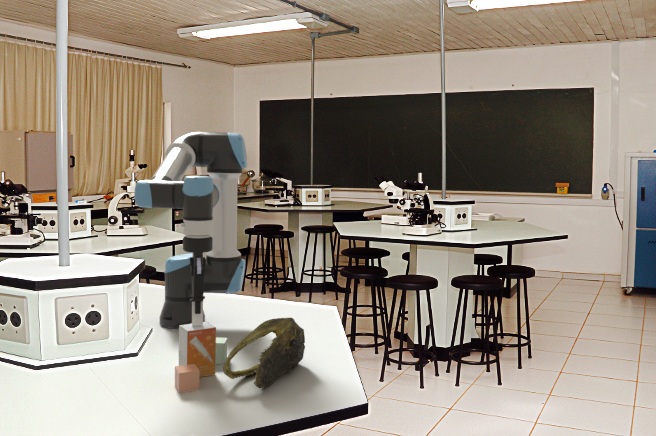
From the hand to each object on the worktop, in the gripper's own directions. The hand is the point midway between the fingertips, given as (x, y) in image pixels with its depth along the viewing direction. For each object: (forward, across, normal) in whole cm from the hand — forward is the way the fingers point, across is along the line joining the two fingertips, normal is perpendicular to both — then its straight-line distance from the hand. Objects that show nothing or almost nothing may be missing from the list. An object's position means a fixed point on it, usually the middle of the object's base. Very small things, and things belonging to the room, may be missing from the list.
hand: (197, 324), depth 159 cm
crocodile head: (+14, +6, +18) cm, 24 cm away
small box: (+14, 0, 0) cm, 14 cm away
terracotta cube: (+13, +9, -3) cm, 16 cm away
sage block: (+13, -9, +6) cm, 17 cm away
